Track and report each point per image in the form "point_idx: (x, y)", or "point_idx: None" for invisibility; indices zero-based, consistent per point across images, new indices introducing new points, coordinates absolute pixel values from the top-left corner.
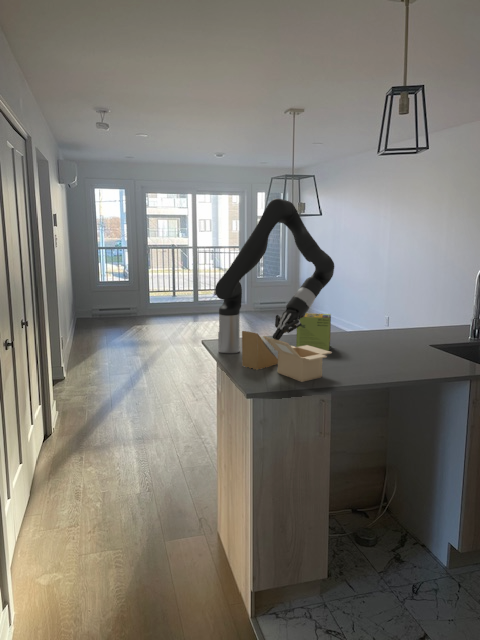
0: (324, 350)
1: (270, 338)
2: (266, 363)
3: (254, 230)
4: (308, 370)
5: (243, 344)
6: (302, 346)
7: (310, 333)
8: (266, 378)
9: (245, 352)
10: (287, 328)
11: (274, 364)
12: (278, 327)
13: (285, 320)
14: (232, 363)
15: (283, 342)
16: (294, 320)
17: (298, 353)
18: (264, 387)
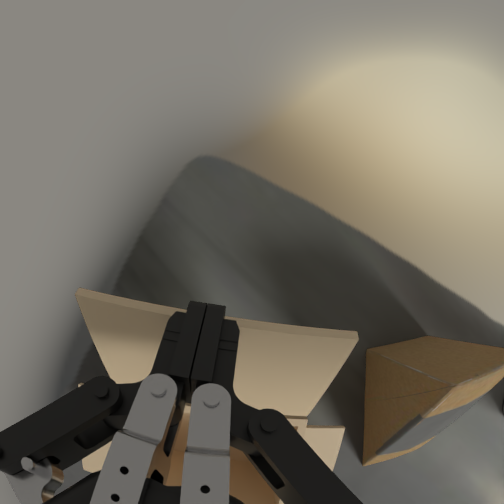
0: None
1: (271, 327)
2: (370, 401)
3: None
4: None
5: (477, 346)
6: None
7: None
8: (268, 301)
9: (448, 345)
10: (86, 390)
11: (364, 437)
12: (206, 394)
13: (131, 476)
14: (463, 328)
15: (111, 298)
16: (20, 463)
17: (266, 494)
18: (197, 218)
